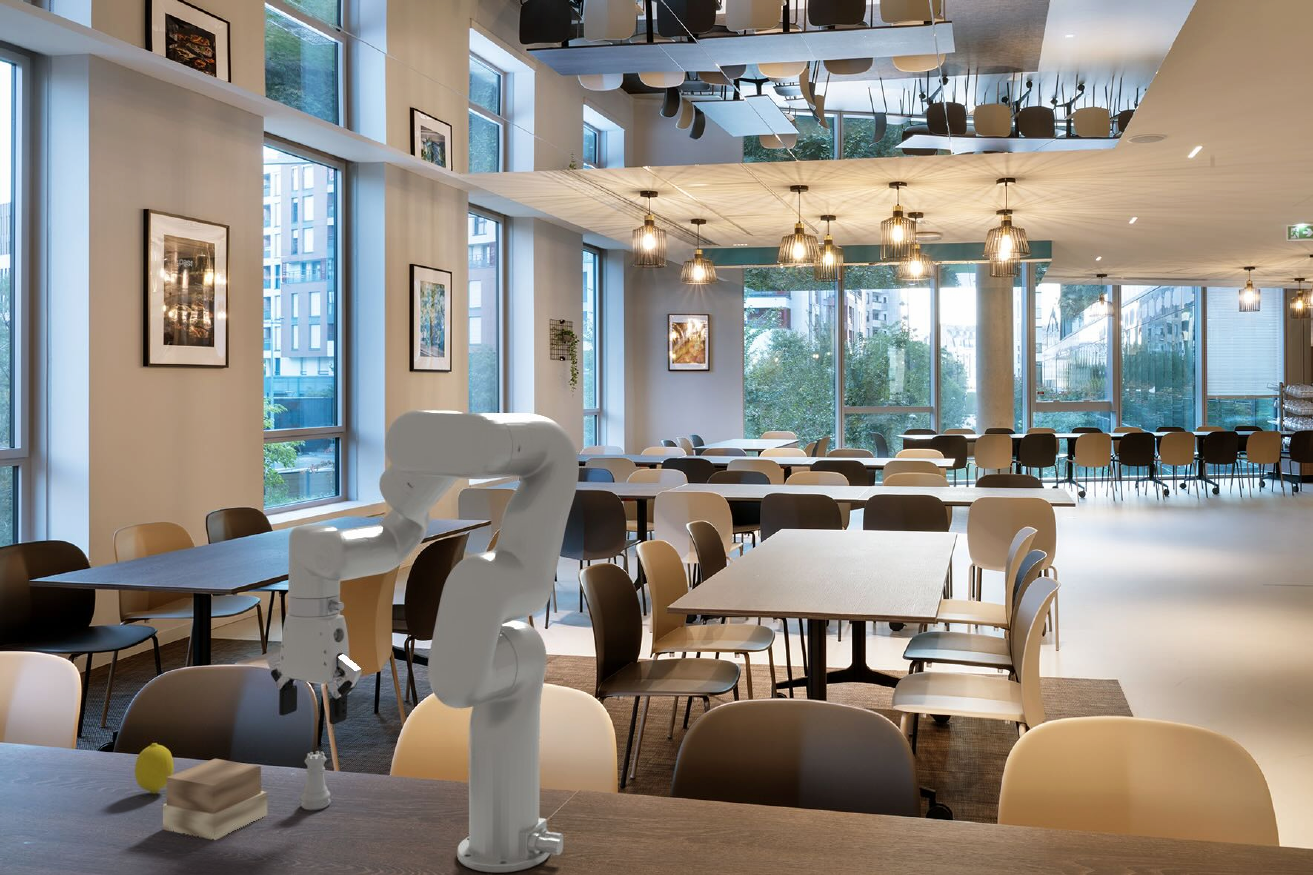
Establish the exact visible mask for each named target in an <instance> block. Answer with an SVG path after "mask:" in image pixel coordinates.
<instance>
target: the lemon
mask: <svg viewBox="0 0 1313 875" xmlns="http://www.w3.org/2000/svg"><path fill="white" fill-rule="evenodd" d="M174 767H175V764H174V759H173V756H172V753H171V751H170V750H169V748H167V747H165V746H164V745H161V744H158V743H157V742H153V743H151V744H150V745H148V746H147V747H146V748H144V749H142V751H141V752H140V753H139V754H138V756H137V759H136V761H135V766H134V776H135V780H136V782H137V784H138V785H139V787H140V788H142V789H143V790H145V791H149V792H150V793H151V794H153V795H155V794H158V792H159V791H160V790H161V789H163V788H166V787H167V777H168V776H171V775H174Z"/></svg>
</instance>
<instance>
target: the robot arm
mask: <svg viewBox="0 0 1313 875" xmlns="http://www.w3.org/2000/svg"><path fill="white" fill-rule="evenodd" d="M384 440H385V441H384V449H385V454H386V457H387V460H388V461H389V462H390V465H389V466H388V467H387V468H386V469H385V470H384V471H383V473H382V474H381V476H380V478H379V484H378V485H379V491H380V494H381V496H382V498H383V499H384V501H385V502H386V503H387V505H388V506H389V507H390V508H391V510H390V511H389V513H388V514H387V515H385V517H384V518H383V519H382V520H380V522H379V523H377V524H376V525H375V524H374V525H366V526H365V525H363V526H357V527H349V528H343V529H338V528H337V527H335V526H332V525H326V524H307V525H298V526H297V527H294V528H293V529H291V532H290V534H289V537H288V591H287V592H288V594H287V595H288V596H287V597H288V603H287V606H288V607H287V614H286V615H285V618H284V622H283V627H282V635H281V641H280V651H278V652H276V653H275V654H272V655H270V656H269V657H267V659H266V661H267V662H266V663H267V664H268V666H269V667H268V668H269V670H270V671H271V672H270V675H271V678H272V679H273V680H274V681H275V688H276V689H277V690H279V693H278V694H279V700H278V701H279V702H278V705H279V706H278V712H279V713H278V714H279V716H287V715H289V714H292V713H294V712H296V711H297V710H298V686H297V684H295V683H296V682H297V681H300V682H307V683H312V684H320V685H326V687H327V688H328V690H329V692H330V693H331V695H332V697H330V698H329V707H328V708H329V715H328V717H329V718H328V722H329V724H330V725H336V724H339V723H341V722H344V721H346V720H347V718H348V717H347V716H348V715H347V714H348V695H350V694H351V693H352V690H354V689H355V688H356V686H357V685H358V684H357V683H358V681H359V678H360V677H361V675H362V669H361V667H359V666H358V665H357V664H356V663H354V662H353V661H352V660H350V659H351V658H350V644H349V643H350V642H349V635H348V628H347V623H346V619H345V616H344V615H343V614H342V615H341V611H342V612H343V610H344V609H345V603H344V602H343V601H341V582H343V581H350V580H354V579H359V578H364V577H369V576H375V575H376V576H377V575H380V574H381V575H382V574H386V573H388V572H390V571H393V570H395V569H396V568H397V567H399V566H400V565H401V564H402V563H403V562H404V561H406V560H407V558H409V556H411V554H412V553H413V552H414V551H415V550H416V549H417V548H418V546H420V544H421V543H422V542H423V541H424V539H425V537H426V535H427V532H428V528H429V523H430V518H431V517H430V516H431V515H430V511H431V510H432V509H433V507H435V505H436V504H437V503H438V502H439V501H440V500H441V499H442V498H443V496H444V495H445V494H447V492H449V490H450V489H451V488H452V487H453V486H454V485H455V483H457V482H458V480H459V479H463V480H464V479H465V480H490V479H491V480H492V479H502V478H503V479H504V478H513V477H518V478H519V479H520V480H519V484H518V486H517V488H516V489H515V490H514V492H513V494H512V495H511V496H510V499H509V500H508V502H507V504H506V506H505V508H504V512H503V514H502V517H501V524H500V529H499V533H498V536H497V540H496V543H495V545H494V547H493V548H492V549H491V550H489V551H484V552H478V553H474V554H471V555H468V556H466V557H465V558H463V559H461V560H460V561H459V562H458V563H456V564H455V566H454V567H453V568H452V569H451V571H450V573H449V574H448V576H447V578H446V579H445V583H444V584H443V588H442V591H441V596H440V601H439V605H438V610H437V614H436V620H435V623H434V624H435V625H434V629H433V634H432V638H431V643H430V648H429V654H428V661H427V674H428V681H429V685H430V688H431V690H432V692H433V694H434V696H435V697H436V699H437V700H438V701H440V703H442V704H443V705H445V706H446V707H449V708H453V709H461V710H462V709H469V708H472V709H471V713H470V719H469V726H468V836H467V837H466V838H464V839H463V840H462V841H460V843H459V844H458V846H457V848H456V849H457V859H458V861H459V862H460V863H461V864H462V865H463V866H465V867H466V868H469V869H470V870H471V869H472V870H474V871H479V872H485V873H512V872H517V871H518V872H519V871H523V870H526V869H530V868H532V867H533V868H534V867H535V866H537V865H539V864H541V863H543V862H545V860H547V859H548V858H549V856H550V855H555V856H559V855H561V854H562V852H563V850H564V834H563V833H559V832H554V831H553V832H552V831H549V830H548V829H547V826H548V824H547V818H544V817H543V818H542V817H540V738H541V737H540V732H541V729H540V727H541V726H540V722H541V721H540V720H541V705H542V702H541V701H542V693H543V688H544V682H545V676H546V670H547V650H546V646H545V642H544V639H543V638H542V635H541V634H540V633H539V631H538V630H537V629H536V628H535V627H533V625H530V624H529V623H527V622H523V621H522V619H525V618H528V617H530V616H533V615H535V614H538V613H539V612H541V611H542V610H543V609H544V608H545V607H546V606H547V604H548V602H549V600H550V598H551V595H552V591H553V588H554V587H553V586H554V583H555V579H556V574H557V570H558V564H559V561H560V557H561V550H562V546H563V542H564V537H565V532H566V527H567V523H568V519H569V516H570V511H571V508H572V506H573V502H574V498H575V494H576V492H577V491H576V490H577V488H578V482H579V474H580V466H579V456H578V452H577V449H576V447H575V444H574V442H573V441H572V439H571V437H570V435H569V434H568V433H567V431H566V430H565V429H564V428H563V427H562V426H561V425H560V424H559V423H558V422H556V421H555V420H552V419H551V418H548V417H546V416H543V415H539V414H534V413H525V412H524V413H523V412H515V413H514V412H512V413H510V412H506V413H505V412H504V413H502V412H501V413H500V412H499V413H497V412H496V413H495V412H494V413H493V412H491V413H490V412H488V413H487V412H481V413H480V412H461V411H456V410H444V409H443V410H439V409H437V410H436V409H435V410H433V409H431V410H429V409H426V410H425V409H424V410H422V409H418V410H417V409H415V410H410V411H407V412H404V413H403V414H400V416H397V417H396V418H395V420H394V421H393V422H392V423H391V424H390V427H388V430H387V432H386V435H385V439H384ZM520 620H521V621H520Z"/></svg>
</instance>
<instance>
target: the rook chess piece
mask: <svg viewBox="0 0 1313 875" xmlns="http://www.w3.org/2000/svg"><path fill="white" fill-rule="evenodd" d="M326 761H327V757H326V756H325V752H324V751H317V750H316V751H315V754H314V752H313V751H310V752H309V753H306V758H305V759H304V763H305V765H306V766H307V768H306V770H305V771H306V774H307V778H306V783H305V784H306V785H305V788H304V790H303V793H302V794H301V797H300V799H301V802H300V806H301V807H302V809H303V810H305V811H318V810H319V811H320V810H323V809H325V808H327V807H328V806H329V805H330V803H331V802H332V801H331V799H330V797H331V792H330V791H329V790H328V787H327V785H326V779H325V770H326V768H325V765H324V764H325V762H326Z"/></svg>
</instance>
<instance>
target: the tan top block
mask: <svg viewBox="0 0 1313 875" xmlns="http://www.w3.org/2000/svg"><path fill="white" fill-rule="evenodd" d="M261 791H262V766H259V765H255V764H250V763H249V764H248V763H242V762H236V761H233V760H232V761H231V760H226V759H219V758H213V759H211V760H208V761H205V762H203V763H200V764H198V765H195V766H193V767H190V768H187V769H185V770H181V771H180V772H176V773H173V775H171V776H168V777H167V785H166V803H167V805H171V806H176V807H181V808H186V809H191V810H196V811H201V812H206V813H211V814H215V813H217V812H219V811H222V810H224V809H226V808H228V807H231V806H233V805H235V804H237V803H240V802H242V801H244V800H246V799H249V798H251V797H253V796H255V795H258V794H260V793H261Z"/></svg>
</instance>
